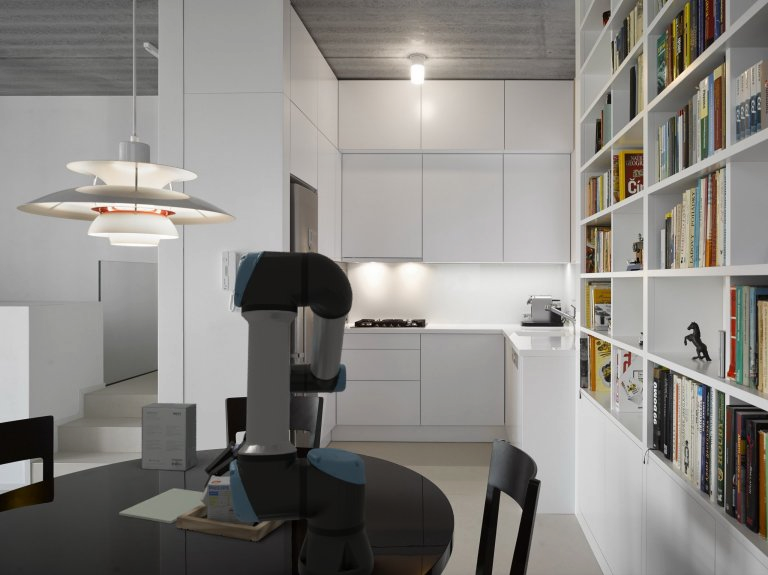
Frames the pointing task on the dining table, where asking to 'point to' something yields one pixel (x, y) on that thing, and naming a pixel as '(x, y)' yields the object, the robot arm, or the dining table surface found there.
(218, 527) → the oak frame
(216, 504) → the light bulb box
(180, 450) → the hard drive box
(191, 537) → the dining table surface
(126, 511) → the sage mat
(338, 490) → the robot arm
